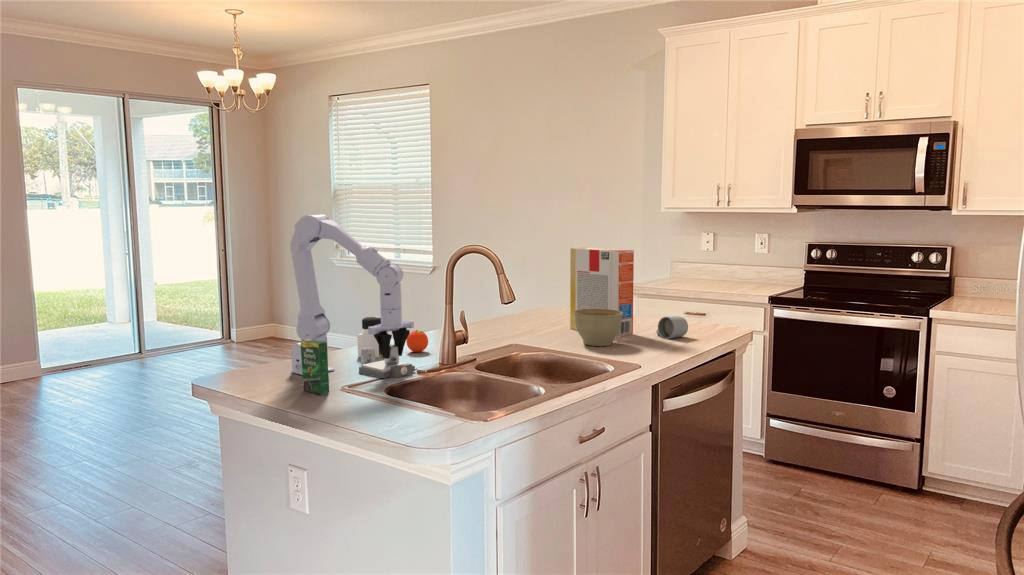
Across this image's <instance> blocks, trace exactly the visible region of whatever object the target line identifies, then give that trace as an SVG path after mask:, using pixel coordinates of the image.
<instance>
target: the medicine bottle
mask: <svg viewBox="0 0 1024 575" xmlns="http://www.w3.org/2000/svg"><path fill="white" fill-rule="evenodd" d="M379 324H381V317H379V316H367V317H363V318H362V320H361V328H362V330H361V331H362V332H361V333H359V334H357V335H356V336H357V338H356V339H357V358H361V349H363V348H375V359H380V358H383V357H382V353H381V350H380V347H379V344H378V342H377V340H376V339H375V337H374V335H371V334H368V327H372V326H375V325H379Z"/></svg>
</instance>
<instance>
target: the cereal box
mask: <svg viewBox="0 0 1024 575" xmlns="http://www.w3.org/2000/svg"><path fill="white" fill-rule="evenodd" d="M569 251H570V254H569V255H570V257H569V258H570V260H569V261H570V278H569V280H570V281H569V282H570V284H569V286H570V291H569V292H570V296H569V297H570V298H569V300H570V305H569V306H570V309H569V310H570V311H569V312H570V314H569V316H570V317H569V318H570V320H569V321H570V323H569V324H570V326H569V327H570V330H573V329H574V331H578V330H577V328H576V324H575V316H574V311H575V310H580V309H612V310H618V311H621V312H623V316H622V323H621V327H620V330H619V332H618V334H617V335H616V337H615V338H620V337H626V336H631V335H633V334H634V274H635V273H634V269H635V268H634V266H635V264H634V263H635V262H634V260H635V259H634V258H635V257H634V254H635V251H634V249H622V248H621V249H620V248H606V247H605V248H600V247H587V246H586V247H572V248H570V250H569Z"/></svg>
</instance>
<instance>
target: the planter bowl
mask: <svg viewBox="0 0 1024 575" xmlns="http://www.w3.org/2000/svg"><path fill="white" fill-rule="evenodd" d="M574 316H575V324H576V328H577V330H576V331H577V332H578V334H579V336H580V337H581V339H582V342H583V344H584V345H587V346H591V347H592V346H593V347H594V346H595V347H606V346H612V344H613V341H614V340H615V338H617V337H616V335H617V334H618V332H619V330H620V327H621V323H622V316H623V312H621V311H618V310H612V309H580V310H575V311H574Z"/></svg>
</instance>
